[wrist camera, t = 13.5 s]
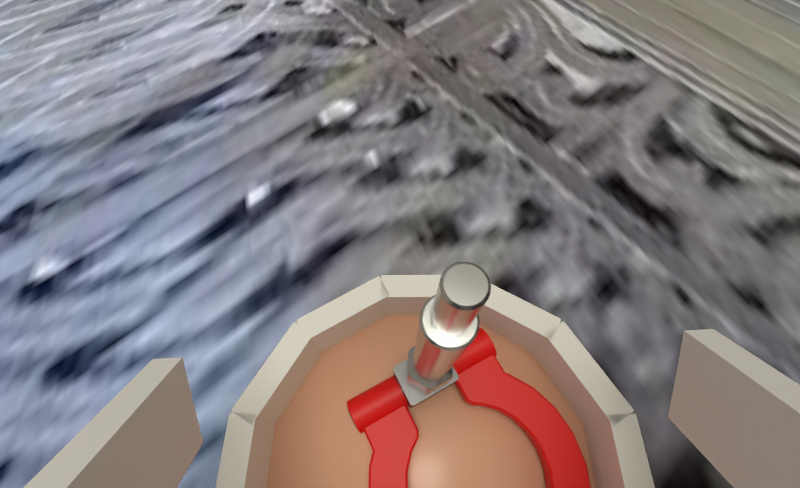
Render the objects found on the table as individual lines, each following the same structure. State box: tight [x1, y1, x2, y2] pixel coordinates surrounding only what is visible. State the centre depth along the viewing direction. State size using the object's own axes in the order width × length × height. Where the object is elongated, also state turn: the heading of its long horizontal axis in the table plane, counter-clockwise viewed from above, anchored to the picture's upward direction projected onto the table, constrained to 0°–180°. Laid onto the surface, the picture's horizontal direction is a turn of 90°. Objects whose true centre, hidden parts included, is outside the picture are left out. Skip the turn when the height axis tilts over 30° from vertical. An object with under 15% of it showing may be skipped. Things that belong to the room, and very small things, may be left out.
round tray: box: [215, 275, 655, 488], centre depth 15 cm, size 15×15×3 cm
